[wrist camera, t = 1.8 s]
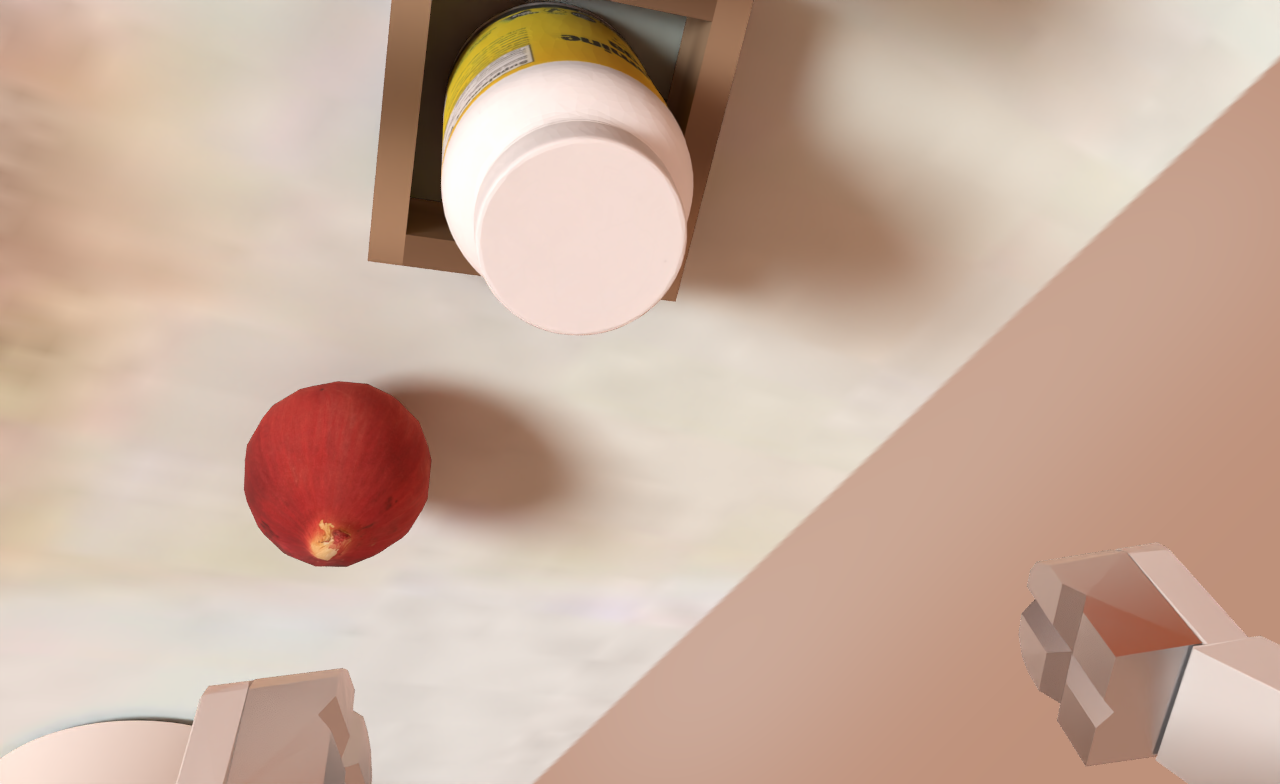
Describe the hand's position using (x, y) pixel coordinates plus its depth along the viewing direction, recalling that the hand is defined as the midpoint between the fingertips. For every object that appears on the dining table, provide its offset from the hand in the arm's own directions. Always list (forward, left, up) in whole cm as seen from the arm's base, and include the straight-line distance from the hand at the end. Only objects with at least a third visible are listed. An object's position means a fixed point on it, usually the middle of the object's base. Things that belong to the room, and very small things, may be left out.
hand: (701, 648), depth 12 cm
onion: (-12, +5, -23) cm, 27 cm away
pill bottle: (0, 0, -23) cm, 23 cm away
